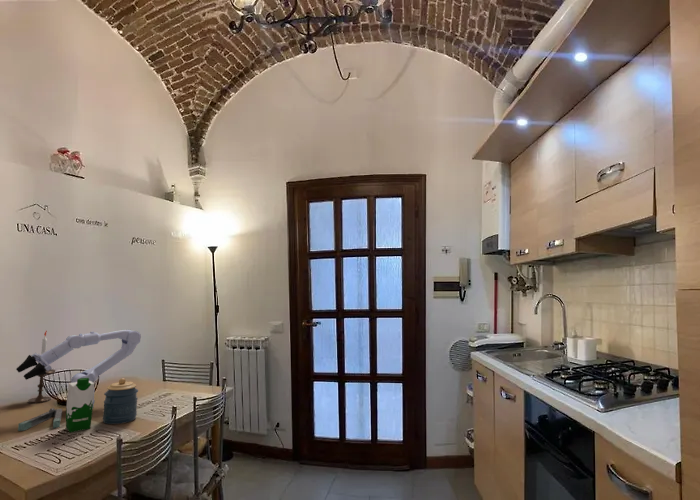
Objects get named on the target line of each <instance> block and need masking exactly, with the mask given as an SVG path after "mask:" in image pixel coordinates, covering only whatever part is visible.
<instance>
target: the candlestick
mask: <svg viewBox="0 0 700 500" xmlns="http://www.w3.org/2000/svg"><path fill="white" fill-rule="evenodd" d="M47 333H48V331H47V330H45V332H44V337H43V338H42V342H41V343H42V344H41V354H43V353H45V352H46V351H47V347H48V346H47V345H48V338H47ZM41 354H40V355H41ZM55 373H56V369H53V368H52V369H50V370H49V371H47V370H46V374H42V375H38V376H37V377H39V384H37V388H38V389H37V392H38V394H37V396H36V397H33V398H30V399H28V400H27V403H29V404H42V403H47V402H49V401H50V402H51V400H52V397H50V396H43V392H44V389H43V388H44V387H45V384H44V377H45V376H48V375H53V374H55Z"/></svg>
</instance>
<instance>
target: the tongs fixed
mask: <svg viewBox="0 0 700 500" xmlns="http://www.w3.org/2000/svg"><path fill="white" fill-rule="evenodd" d="M48 412H52V415H51V418H53V423H52V429H56V428H57V429H58V427H59V428H60V427H61V420H62V416H63V408H57V409H55V408H54V407H52V408H50V409H49V410H48Z"/></svg>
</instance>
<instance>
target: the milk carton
mask: <svg viewBox="0 0 700 500" xmlns="http://www.w3.org/2000/svg"><path fill="white" fill-rule="evenodd" d="M94 388H95V383H94V382H92V381H89V378H80V379H77V382H74V383H71V382H69V383H68V388H67V396H66V408H65V428H66V430H67V431H68V432H69V433H76V432H81V431H84V430H90V429H91V425H92V420H93V419H92V418H93V409H94V405H93V397H94V398H95V391H94Z"/></svg>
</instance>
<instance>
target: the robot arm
mask: <svg viewBox="0 0 700 500" xmlns="http://www.w3.org/2000/svg"><path fill="white" fill-rule="evenodd" d="M141 338H142V336H141V333H140V331H137V330H131V329H121V330H115V331H109V332H104V333H99V332H98V331H96V332H95V331H90V332H89V333H79V334H78V335H75V334H72V335H69V336H67V337H66V339H64V340H63V341H62V342H60V343H58V344H57V345H55V346H53V347H51V348H50V349H47V350H46V352H45V353H43V354H40V353H37V352H35V353H33V354H29V355H28V356H27V357H26V359H25V360H24V361H23V362H21V364H19V366H17V367H16V369H15V370H16V371H17V372H18V373H22V372H24V371H26V370H27V369H29V368H32V367H33V368H32V369H31V370H29V371H28V372H27V373H25V374H24V375H23V377H24V379H25V380H26V381H27V380H29V379H33V378H35V377H38V375H42V374H46V370H47V371H49V370H50V369H53V367H52V366H51V364H53V363H54V362H56V361H58V360H59V359H60V358H62V357H64V356H66V355H67V354H69V353H70V352H71V351H74V349H81V347H87V346H93V345H98V344H99V343H100V342H101V341H108V340H114V339H120V340H121V348H120V349H118V350H116V351H115V352H114V353H112V354H111V355H109V356H107V357H106V358H105V359H103V360H102V361H100V362H99V363H97V364H95V365H94V366H92V367H91V368H88V369H85V370H84V371H81V372H77V373H75V374H74V375H73V376H71V380H70V383H74V382H77V379H80V378H89V381H92V382H93V383H94V382H95V381H97V379H98V377H100V376H101V375H102V374H104V373H105V372H107V371H108V370H110V369H111V368H113V367H115V365H118V364H119V363H120V362H121V361H123V360H125V359H126V358H128V357H129V356H131V355H132V354H133V353H134V351H135V349H136V348H137V346H138V345H139V344H140V343H141ZM94 392H95V387H94ZM95 403H96V402H95V396H94V397H93V406H94V404H95Z"/></svg>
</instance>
